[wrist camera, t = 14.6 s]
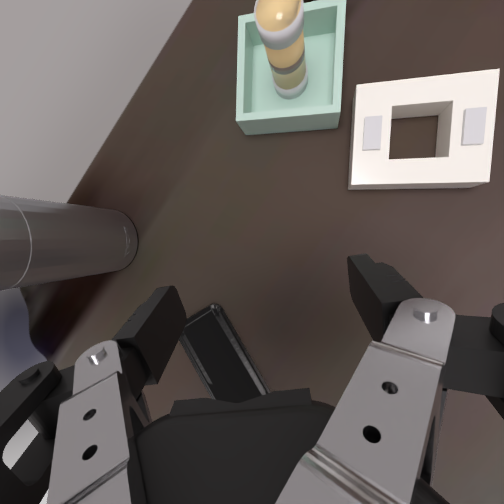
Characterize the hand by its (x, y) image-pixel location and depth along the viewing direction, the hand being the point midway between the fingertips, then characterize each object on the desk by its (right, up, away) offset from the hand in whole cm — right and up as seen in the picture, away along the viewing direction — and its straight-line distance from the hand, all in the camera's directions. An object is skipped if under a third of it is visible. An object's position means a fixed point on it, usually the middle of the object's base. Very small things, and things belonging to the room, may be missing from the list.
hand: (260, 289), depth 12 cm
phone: (-4, -13, +24) cm, 27 cm away
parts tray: (+4, +22, +19) cm, 29 cm away
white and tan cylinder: (+4, +22, +18) cm, 28 cm away
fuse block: (+17, +14, +16) cm, 27 cm away
